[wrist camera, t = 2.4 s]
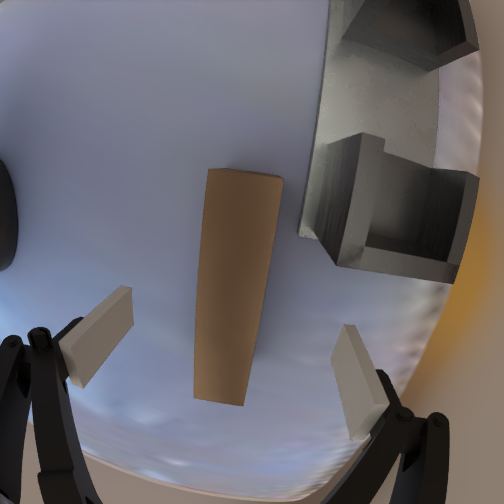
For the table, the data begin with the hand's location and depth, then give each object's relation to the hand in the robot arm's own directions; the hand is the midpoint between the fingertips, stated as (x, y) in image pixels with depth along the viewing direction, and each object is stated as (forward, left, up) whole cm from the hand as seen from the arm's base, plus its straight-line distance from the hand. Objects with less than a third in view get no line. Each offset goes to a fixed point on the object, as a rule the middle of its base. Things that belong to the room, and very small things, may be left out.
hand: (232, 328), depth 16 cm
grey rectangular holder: (+9, +16, -7) cm, 20 cm away
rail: (0, 0, -7) cm, 7 cm away
